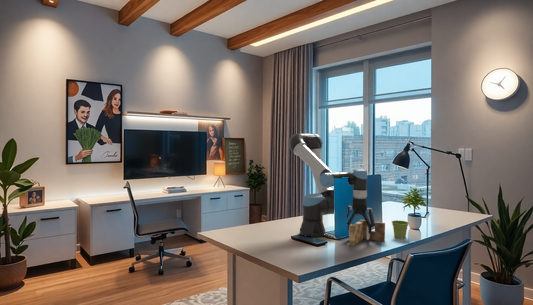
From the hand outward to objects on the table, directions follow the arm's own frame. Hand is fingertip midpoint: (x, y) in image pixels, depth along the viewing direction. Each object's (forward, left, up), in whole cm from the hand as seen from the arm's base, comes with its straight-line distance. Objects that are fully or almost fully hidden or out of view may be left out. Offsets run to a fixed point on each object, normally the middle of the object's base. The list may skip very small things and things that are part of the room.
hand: (359, 237), depth 198 cm
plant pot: (+17, +20, -2) cm, 27 cm away
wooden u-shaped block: (+5, +6, -2) cm, 8 cm away
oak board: (0, -4, -2) cm, 5 cm away
